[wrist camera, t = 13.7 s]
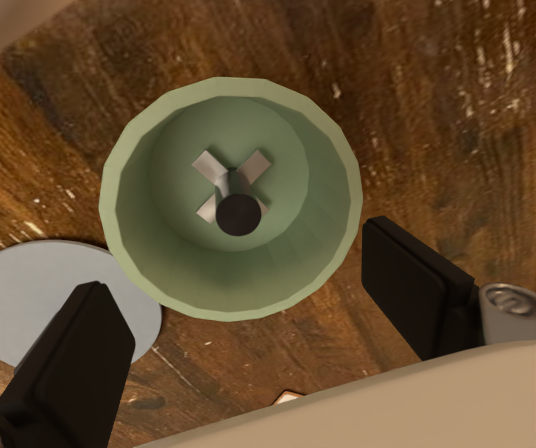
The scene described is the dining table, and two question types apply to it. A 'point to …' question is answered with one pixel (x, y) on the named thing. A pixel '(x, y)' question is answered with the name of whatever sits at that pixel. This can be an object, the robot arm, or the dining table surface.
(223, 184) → the blade
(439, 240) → the dining table surface
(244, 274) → the processor bowl
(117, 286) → the lid
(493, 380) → the robot arm
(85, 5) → the dining table surface
